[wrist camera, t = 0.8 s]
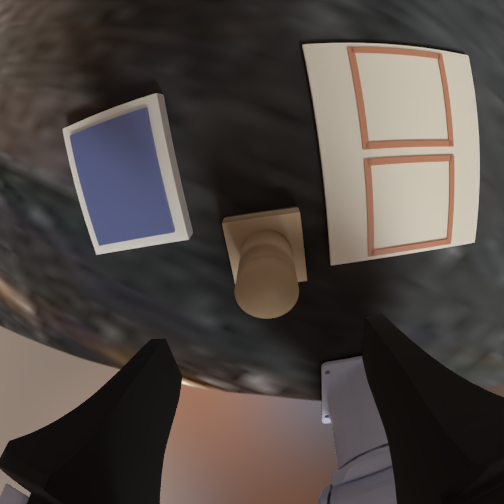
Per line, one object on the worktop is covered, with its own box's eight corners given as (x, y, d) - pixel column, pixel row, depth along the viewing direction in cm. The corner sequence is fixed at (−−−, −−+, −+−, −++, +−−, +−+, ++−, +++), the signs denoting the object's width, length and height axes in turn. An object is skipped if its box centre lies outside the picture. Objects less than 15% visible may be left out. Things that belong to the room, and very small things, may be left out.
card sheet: (472, 240, 18) (475, 243, 18) (330, 263, 19) (331, 266, 19) (465, 55, 13) (469, 55, 12) (301, 45, 14) (302, 44, 13)
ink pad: (193, 232, 19) (187, 241, 18) (104, 247, 20) (94, 256, 18) (163, 94, 15) (154, 92, 14) (72, 127, 16) (59, 129, 15)
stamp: (304, 269, 20) (317, 324, 14) (238, 278, 20) (229, 334, 15) (297, 205, 18) (311, 241, 13) (225, 215, 18) (208, 255, 13)
